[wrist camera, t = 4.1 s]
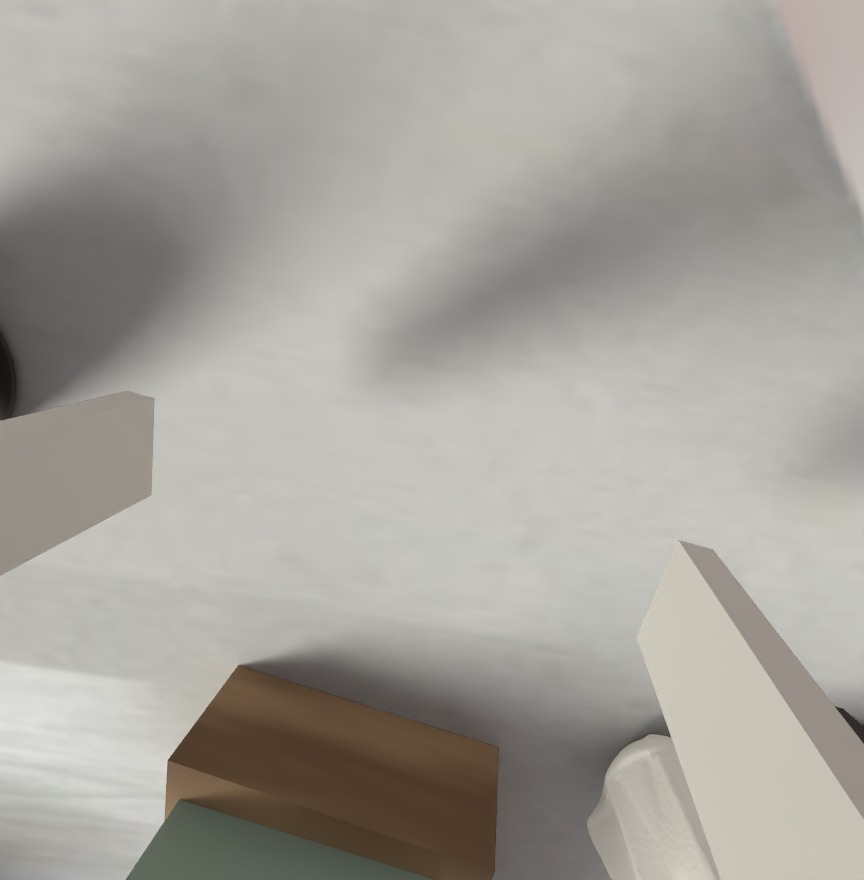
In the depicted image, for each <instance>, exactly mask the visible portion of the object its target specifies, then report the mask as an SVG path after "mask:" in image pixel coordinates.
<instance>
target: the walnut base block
mask: <svg viewBox="0 0 864 880" xmlns="http://www.w3.org/2000/svg"><path fill="white" fill-rule="evenodd" d="M498 753H499V748H498V747H495V746H492V745H489V744H486V743H483V742H479V741H476V740H473V739H470V738H467V737H464V736H460V735H457V734H454V733H451V732H448V731H445V730H442V729H438V728H435V727H432V726H429V725H426V724H423V723H419V722H416V721H413V720H410V719H407V718H404V717H400V716H397V715H394V714H391V713H388V712H385V711H381V710H378V709H375V708H372V707H369V706H366V705H363V704H359V703H356V702H353V701H350V700H347V699H344V698H340V697H337V696H334V695H331V694H328V693H325V692H321V691H318V690H315V689H312V688H309V687H306V686H302V685H299V684H296V683H293V682H290V681H287V680H284V679H280V678H277V677H274V676H271V675H268V674H265V673H261V672H258V671H255V670H252V669H249V668H246V667H242V666H239V665H238V667H237V668H236V669H235V671H234V672H233V673H232V675H231V676H230V677H229V679H228V680H227V681H226V683H225V684H224V685H223V687H222V688H221V689H220V691H219V692H218V694H217V695H216V696H215V698H214V699H213V700H212V702H211V703H210V704H209V706H208V707H207V708H206V710H205V711H204V712H203V714H202V715H201V716H200V718H199V719H198V720H197V722H196V723H195V725H194V726H193V727H192V729H191V730H190V731H189V733H188V734H187V735H186V737H185V738H184V739H183V741H182V742H181V743H180V745H179V746H178V747H177V749H176V750H175V751H174V753H173V754H172V755H171V757H170V758H169V760H168V766H167V785H166V805H165V820H166V819H167V817H168V816H169V814H170V813H171V811H172V810H173V808H174V807H175V805H176V804H177V802H178V801H179V799H180V800H183V801H186V802H189V803H192V804H196V805H199V806H202V807H205V808H208V809H212V810H215V811H218V812H221V813H224V814H227V815H231V816H234V817H237V818H240V819H243V820H247V821H250V822H253V823H256V824H259V825H263V826H266V827H269V828H272V829H275V830H279V831H282V832H285V833H288V834H291V835H295V836H298V837H301V838H304V839H307V840H310V841H314V842H317V843H320V844H323V845H326V846H330V847H333V848H336V849H339V850H342V851H346V852H349V853H352V854H355V855H358V856H362V857H365V858H368V859H371V860H374V861H377V862H381V863H384V864H387V865H390V866H393V867H397V868H400V869H403V870H406V871H409V872H413V873H416V874H419V875H422V876H425V877H429V878H432V879H435V880H491V879H492V877H493V874H494V872H495V843H496V813H497V783H498Z"/></svg>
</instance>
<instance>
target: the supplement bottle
mask: <svg viewBox="0 0 864 880" xmlns="http://www.w3.org/2000/svg"><path fill="white" fill-rule="evenodd" d="M14 395H15V375H14V369H13V364H12V360H11V357H10V354H9V351H8V349H7V346H6V344H5V342H4V340H3V338H2V336H1V334H0V421H2V420H6V419H7V417H8V415H9V413H10V411H11V408H12V405H13V401H14Z"/></svg>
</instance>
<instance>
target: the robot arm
mask: <svg viewBox="0 0 864 880" xmlns="http://www.w3.org/2000/svg"><path fill="white" fill-rule="evenodd" d="M153 427H154V398H152V397H148V396H144V395H141V394H137V393H133V392H130V391H125V392H120V393H116V394H112V395H108V396H103V397H99V398H95V399H91V400H86V401H82V402H78V403H74V404H69V405H65V406H61V407H57V408H53V409H48V410H44V411H40V412H36V413H31V414H27V415H23V416H19V417H14V418H10V419H6V420H2V421H0V576H1V575H3V574H4V573H6V572H8V571H10V570H12V569H14V568H16V567H17V566H19V565H21V564H23V563H25V562H27V561H29V560H31V559H32V558H34V557H36V556H38V555H40V554H42V553H44V552H46V551H47V550H49V549H51V548H53V547H55V546H57V545H59V544H60V543H62V542H64V541H66V540H68V539H70V538H72V537H74V536H75V535H77V534H79V533H81V532H83V531H85V530H87V529H89V528H90V527H92V526H94V525H96V524H98V523H100V522H102V521H103V520H105V519H107V518H109V517H111V516H113V515H115V514H117V513H118V512H120V511H122V510H124V509H126V508H128V507H130V506H132V505H133V504H135V503H137V502H139V501H141V500H143V499H145V498H146V497H148V496H150V495H151V491H152V459H153ZM637 640H638V643H639V646H640V649H641V652H642V655H643V658H644V660H645V663H646V666H647V669H648V672H649V675H650V678H651V681H652V683H653V686H654V689H655V692H656V695H657V698H658V701H659V703H660V706H661V709H662V712H663V715H664V718H665V721H666V724H667V726H668V729H669V732H670V735H671V738H672V741H673V744H674V747H675V749H676V752H677V755H678V758H679V761H680V764H681V767H682V770H683V772H684V775H685V778H686V781H687V784H688V787H689V790H690V792H691V795H692V798H693V801H694V804H695V807H696V810H697V813H698V815H699V818H700V821H701V824H702V827H703V830H704V833H705V836H706V838H707V841H708V844H709V847H710V850H711V853H712V856H713V858H714V861H715V864H716V867H717V870H718V873H719V876H720V879H721V880H864V727H863V726H862V725H861V724H860V723H859V722H858V721H856V720H855V719H854V718H853V717H852V716H851V715H850V714H849V713H847V712H846V711H845V710H844V709H842V708H839V707H835V706H834V705H833V704H832V702H831V701H830V700H829V699H828V697H827V696H826V695H825V693H824V692H823V691H822V689H821V688H820V687H819V686H818V684H817V683H816V682H815V680H814V679H813V678H812V677H811V675H810V674H809V673H808V671H807V670H806V669H805V668H804V666H803V665H802V664H801V662H800V661H799V660H798V659H797V657H796V656H795V655H794V653H793V652H792V651H791V649H790V648H789V647H788V646H787V644H786V643H785V642H784V640H783V639H782V638H781V637H780V635H779V634H778V633H777V631H776V630H775V629H774V628H773V626H772V625H771V624H770V622H769V621H768V620H767V619H766V617H765V616H764V615H763V613H762V612H761V611H760V610H759V608H758V607H757V606H756V604H755V603H754V602H753V600H752V599H751V598H750V597H749V595H748V594H747V593H746V591H745V590H744V589H743V588H742V586H741V585H740V584H739V582H738V581H737V580H736V579H735V577H734V576H733V575H732V573H731V572H730V571H729V570H728V568H727V567H726V566H725V564H724V563H723V562H722V560H721V559H720V558H719V557H718V555H717V554H716V553H715V551H714V550H713V549H709V548H706V547H702V546H698V545H694V544H691V543H687V542H683V541H680V540H678V542H677V545H676V547H675V549H674V552H673V554H672V556H671V559H670V561H669V563H668V565H667V568H666V570H665V572H664V575H663V577H662V579H661V582H660V584H659V586H658V588H657V591H656V593H655V595H654V598H653V600H652V602H651V605H650V607H649V609H648V611H647V614H646V616H645V618H644V621H643V623H642V625H641V628H640V630H639V632H638V635H637Z"/></svg>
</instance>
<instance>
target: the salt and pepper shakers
mask: <svg viewBox="0 0 864 880" xmlns="http://www.w3.org/2000/svg"><path fill="white" fill-rule="evenodd" d="M586 825H587V828H588V835H589V838H590V840H591V841H592V843H593V844H594V846H595V848H596V850H597V852H598V854H599V856H600V857H601V859H602V861H603V863H604V865H605V867H606V869H607V871H608V874H609V876H610V878H611V880H721V879H720V876H719V873H718V870H717V867H716V864H715V861H714V858H713V856H712V853H711V850H710V847H709V844H708V841H707V838H706V836H705V833H704V830H703V827H702V824H701V821H700V818H699V815H698V813H697V810H696V807H695V804H694V801H693V798H692V795H691V792H690V790H689V787H688V784H687V781H686V778H685V775H684V772H683V770H682V767H681V764H680V761H679V758H678V755H677V752H676V749H675V747H674V744H673V741H672V738H670V737H667V736H662V735H655V734H649V735H647V736H646V737H645V738H643V739H641V740H637V741H634V742H631V744H629V745H627V746H626V747H625V748H623V749H622V750H621V751H620V752H619V754H618V755H617V756H616V757H615V758H614V760H613V762H612V763H611V765H610V766H609V768H608V770H607V773H606V775H605V780H604V786H603V789H602V793H601V798H600V800H599V803H598V805H597V807H596V808H595V810H594V811H593V812H592V814H591V815H590V816H589V817H588V819H587V823H586Z"/></svg>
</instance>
